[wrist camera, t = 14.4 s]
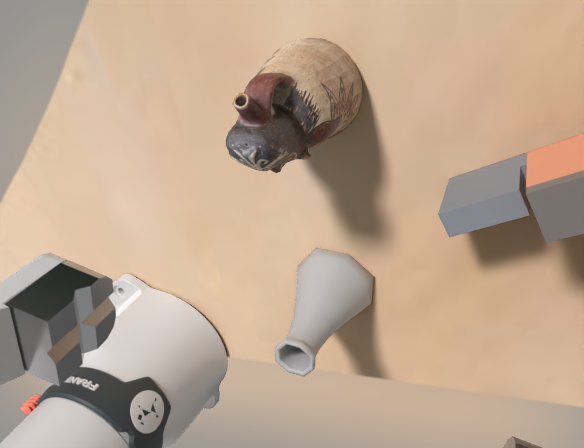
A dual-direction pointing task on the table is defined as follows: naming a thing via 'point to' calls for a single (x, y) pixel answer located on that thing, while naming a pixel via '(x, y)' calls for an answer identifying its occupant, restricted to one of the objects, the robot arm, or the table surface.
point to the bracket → (486, 197)
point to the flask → (322, 306)
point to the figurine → (294, 104)
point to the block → (557, 188)
